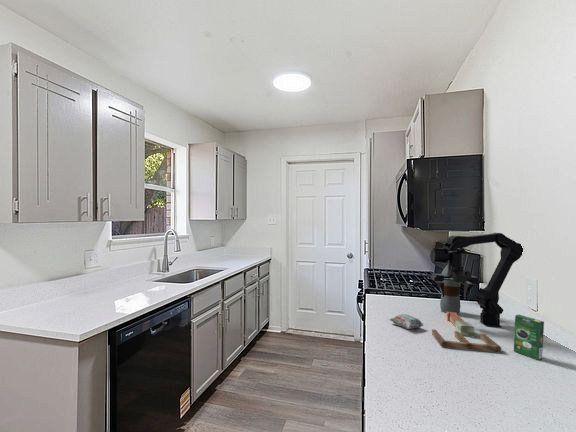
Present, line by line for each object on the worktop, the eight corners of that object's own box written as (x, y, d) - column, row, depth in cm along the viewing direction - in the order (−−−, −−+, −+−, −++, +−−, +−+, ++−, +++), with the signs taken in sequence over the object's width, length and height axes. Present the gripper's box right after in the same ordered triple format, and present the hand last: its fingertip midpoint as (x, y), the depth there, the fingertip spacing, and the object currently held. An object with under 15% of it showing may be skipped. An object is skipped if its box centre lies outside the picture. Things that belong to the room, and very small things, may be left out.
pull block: (456, 321, 144) (457, 312, 144) (474, 336, 125) (474, 326, 125) (445, 320, 145) (445, 311, 145) (460, 335, 126) (460, 325, 126)
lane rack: (484, 339, 122) (484, 333, 122) (501, 352, 110) (501, 347, 110) (431, 334, 126) (431, 329, 126) (441, 347, 113) (441, 341, 113)
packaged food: (408, 333, 127) (409, 320, 127) (388, 323, 138) (388, 312, 138) (424, 330, 131) (424, 318, 131) (402, 321, 141) (403, 311, 142)
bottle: (464, 313, 157) (465, 253, 157) (454, 316, 152) (456, 254, 152) (445, 308, 164) (447, 252, 165) (436, 311, 159) (437, 252, 160)
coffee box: (544, 359, 105) (544, 320, 105) (539, 361, 104) (540, 321, 104) (518, 350, 112) (518, 313, 112) (513, 351, 111) (514, 314, 111)
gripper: (438, 264, 135) (437, 300, 135) (485, 267, 132) (484, 304, 132) (431, 261, 146) (430, 294, 146) (474, 263, 143) (473, 297, 143)
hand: (454, 297), depth 141 cm, fingers open, 9 cm apart
